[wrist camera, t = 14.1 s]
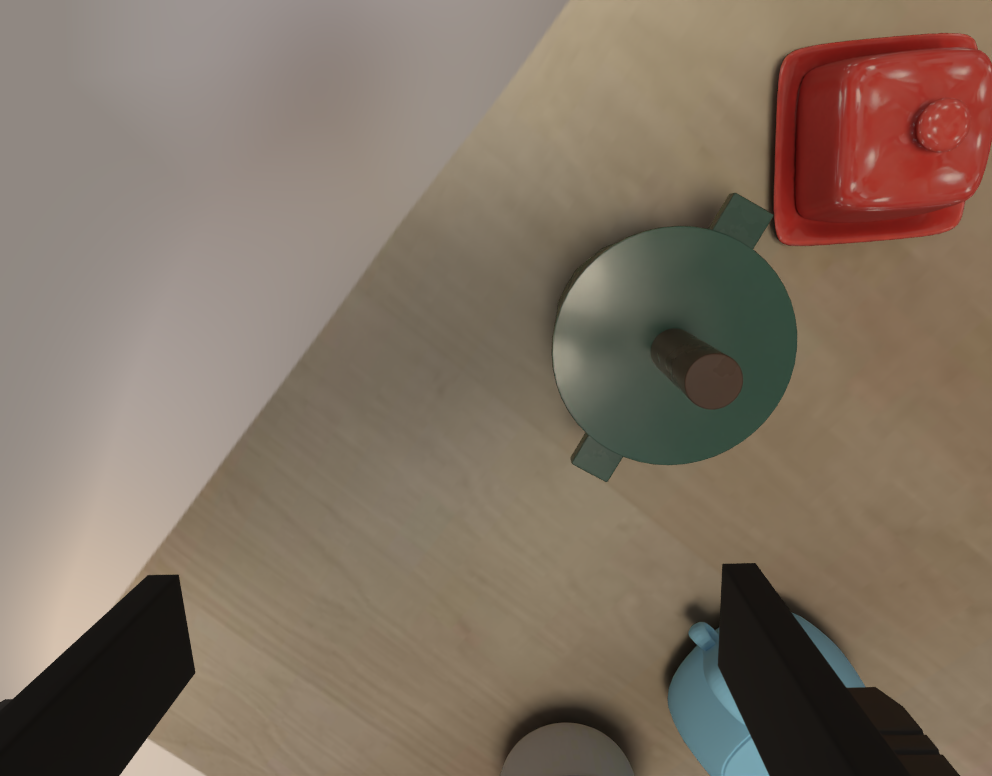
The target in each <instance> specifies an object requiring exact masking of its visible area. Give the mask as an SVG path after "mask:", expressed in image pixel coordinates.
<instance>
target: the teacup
mask: <svg viewBox="0 0 992 776" xmlns="http://www.w3.org/2000/svg"><path fill="white" fill-rule="evenodd" d="M500 776H635V775H634V772H633V770H632V768H631V765H630V763H629V761H628V759H627V758H626V756H625V754H624V753H623V751H622V750H621V749H620V748H619V746H618V745H617V744H616V743H615V742H614V741H613V740H612V739H610V738H609V737H608V736H606V735H605V734H604V733H602V732H600V731H598V730H596V729H594V728H592V727H589V726H586V725H582V724H578V723H555V724H550V725H546V726H543V727H540V728H538V729H536V730H534V731H532V732H530V733H529V734H527V735H526V736H525V737H523V738H522V739H521V740H520V741H519V742H518V743H517V744H516V745H515V746H514V747H513V749H512V750H511V752H510V753H509V755H508V756H507V758H506V761H505V763H504V765H503V768H502V771H501V774H500Z"/></svg>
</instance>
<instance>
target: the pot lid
mask: <svg viewBox="0 0 992 776" xmlns="http://www.w3.org/2000/svg"><path fill="white" fill-rule="evenodd" d="M796 351H797V327H796V319H795V314H794V311H793V307H792V303H791V300H790V298H789V296H788V293H787V291H786V289H785V286H784V285H783V283H782V282H781V280H780V278H779V277H778V275H777V274H776V272H775V271H774V270H773V269H772V267H771V266H770V265H769V264H768V263H767V261H766V260H764V259H763V258H762V257H761V256H760V255H759V254H758V253H757V252H756V251H754V250H753V249H751V248H750V247H748V246H747V245H745V244H744V243H742V242H741V241H739V240H737V239H735V238H733V237H731V236H729V235H726V234H724V233H720V232H717V231H714V230H711V229H706V228H700V227H693V226H671V227H661V228H655V229H651V230H647V231H643V232H640V233H637V234H635V235H632V236H629V237H627V238H625V239H623V240H621V241H619V242H617V243H615V244H613V245H612V246H610V247H609V248H607V249H606V250H605V251H603V252H602V253H600V254H599V255H598V256H597V257H596V258H594V259H593V260H592V261H591V262H590V263H589V264H588V265H587V266H586V267H585V268H584V269H583V270H582V272H581V273H580V274H579V275H578V276H577V278H576V279H575V280H574V282H573V283H572V285H571V287H570V288H569V290H568V291H567V293H566V295H565V297H564V299H563V301H562V303H561V306H560V308H559V311H558V314H557V317H556V320H555V325H554V330H553V336H552V365H553V371H554V376H555V380H556V384H557V387H558V390H559V393H560V395H561V398H562V400H563V402H564V404H565V406H566V408H567V409H568V411H569V413H570V414H571V415H572V417H573V418H574V420H575V421H576V423H577V424H578V425H579V426H580V427H581V428H582V429H583V430H584V431H585V432H586V433H587V434H588V435H589V436H590V437H591V438H593V439H594V440H595V441H596V442H598V443H599V444H600V445H602V446H604V447H605V448H607V449H608V450H610V451H612V452H614V453H616V454H619V455H621V456H623V457H625V458H629V459H632V460H635V461H638V462H644V463H649V464H657V465H677V464H687V463H692V462H697V461H701V460H705V459H708V458H711V457H714V456H716V455H718V454H721V453H723V452H725V451H727V450H729V449H731V448H733V447H734V446H736V445H737V444H739V443H741V442H742V441H744V440H745V439H746V438H747V437H749V436H750V435H751V434H752V433H754V432H755V431H756V430H757V429H758V428H759V427H760V426H761V425H762V424H763V423H764V422H765V421H766V420H767V418H768V417H769V416H770V415H771V413H772V412H773V411H774V409H775V408H776V407H777V405H778V403H779V401H780V400H781V398H782V396H783V395H784V393H785V390H786V388H787V386H788V383H789V381H790V379H791V375H792V371H793V368H794V364H795V358H796Z"/></svg>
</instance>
